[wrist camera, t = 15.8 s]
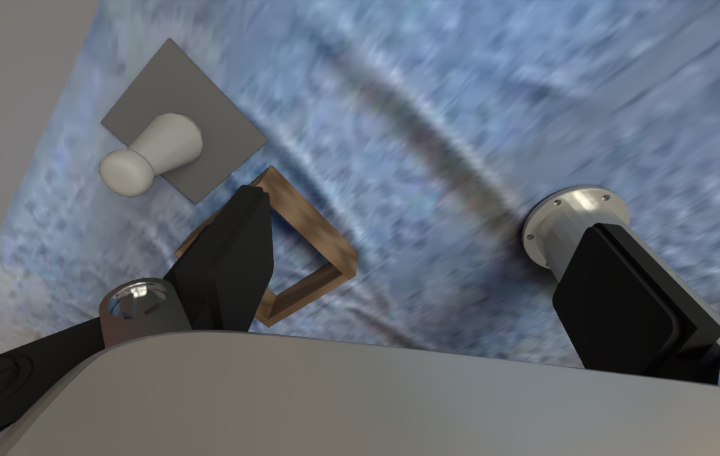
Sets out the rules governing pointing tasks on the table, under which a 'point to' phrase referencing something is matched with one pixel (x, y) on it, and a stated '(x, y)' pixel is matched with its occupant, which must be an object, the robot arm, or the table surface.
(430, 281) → the table surface
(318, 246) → the frame
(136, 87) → the coaster
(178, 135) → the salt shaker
